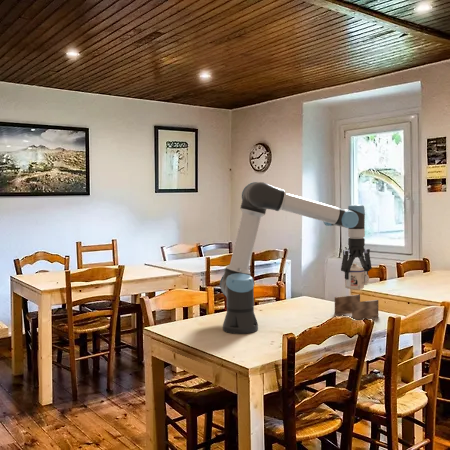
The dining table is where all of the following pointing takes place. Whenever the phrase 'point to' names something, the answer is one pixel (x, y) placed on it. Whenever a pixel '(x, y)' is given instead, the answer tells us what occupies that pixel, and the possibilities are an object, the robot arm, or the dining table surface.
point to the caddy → (356, 307)
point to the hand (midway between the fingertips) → (356, 285)
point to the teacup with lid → (357, 277)
